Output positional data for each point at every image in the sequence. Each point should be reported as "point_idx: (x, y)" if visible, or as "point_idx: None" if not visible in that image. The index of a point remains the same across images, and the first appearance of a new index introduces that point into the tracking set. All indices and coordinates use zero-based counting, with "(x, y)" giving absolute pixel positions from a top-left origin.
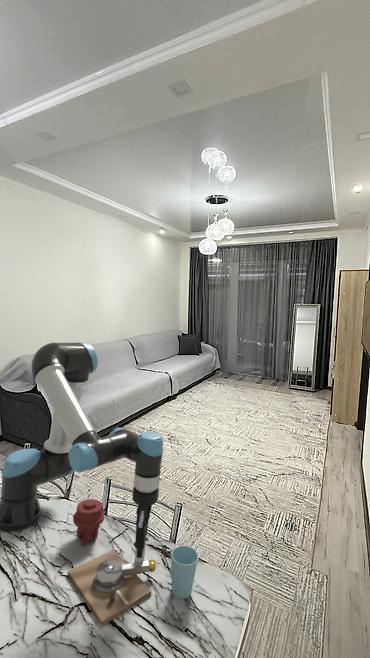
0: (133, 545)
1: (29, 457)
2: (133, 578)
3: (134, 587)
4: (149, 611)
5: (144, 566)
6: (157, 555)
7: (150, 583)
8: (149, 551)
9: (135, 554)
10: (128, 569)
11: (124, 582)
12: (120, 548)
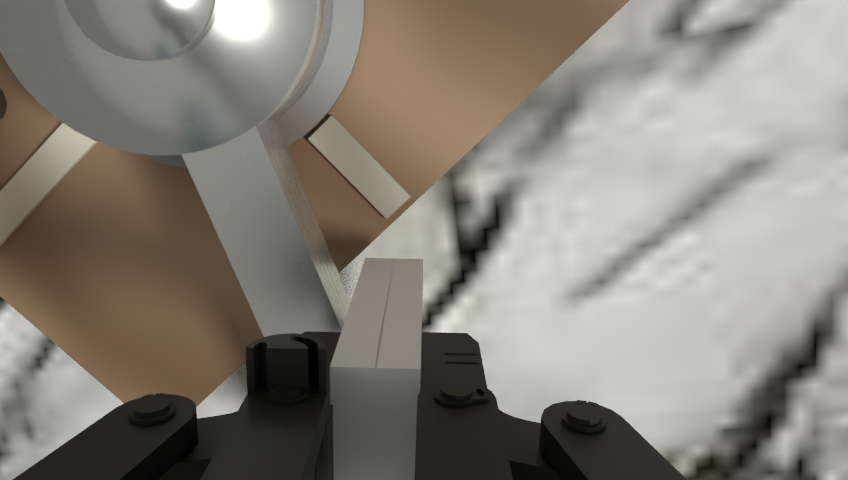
0: (257, 341)
1: None
2: None
3: (171, 285)
4: (22, 422)
5: None
6: (662, 425)
7: None
8: (717, 344)
9: (348, 310)
10: (215, 227)
11: None
12: (757, 21)
